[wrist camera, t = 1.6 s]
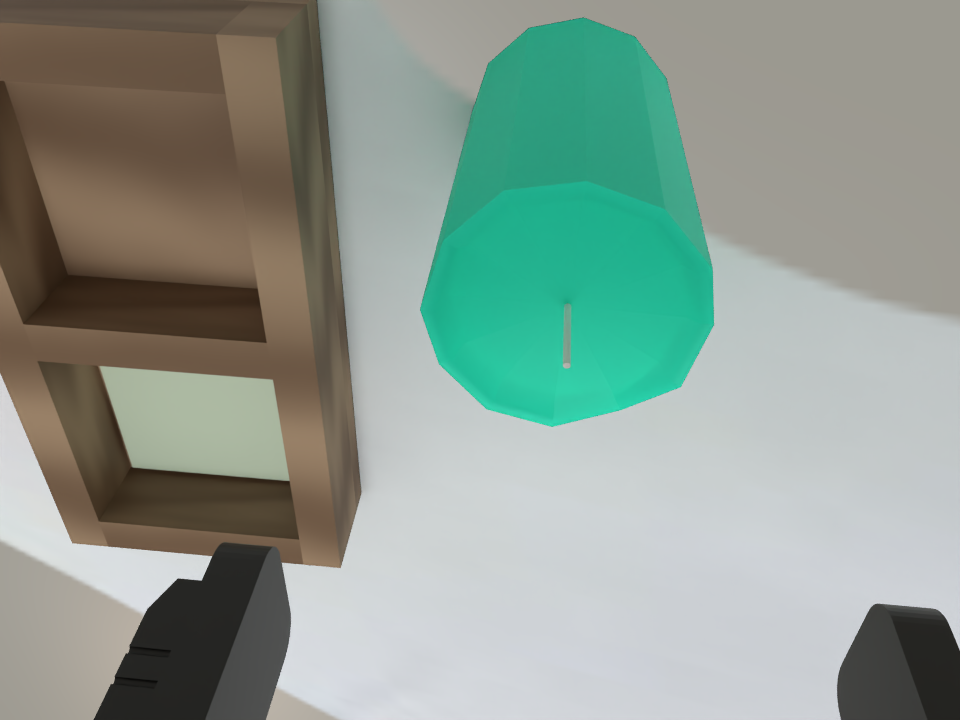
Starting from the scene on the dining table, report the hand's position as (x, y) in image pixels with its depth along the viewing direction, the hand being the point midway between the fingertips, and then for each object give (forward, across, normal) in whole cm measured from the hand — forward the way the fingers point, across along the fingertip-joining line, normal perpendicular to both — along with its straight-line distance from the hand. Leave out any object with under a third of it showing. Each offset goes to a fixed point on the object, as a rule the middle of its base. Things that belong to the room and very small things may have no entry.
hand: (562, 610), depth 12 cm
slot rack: (+18, +13, +7) cm, 23 cm away
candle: (+18, 0, 0) cm, 18 cm away
